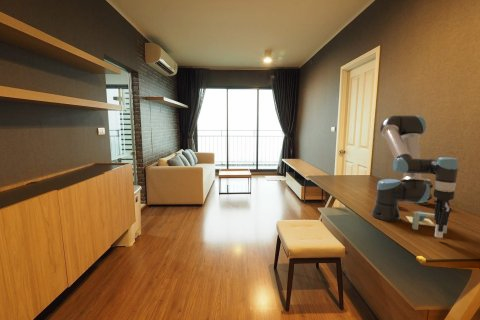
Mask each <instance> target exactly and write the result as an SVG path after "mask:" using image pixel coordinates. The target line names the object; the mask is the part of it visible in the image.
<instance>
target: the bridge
mask: <svg viewBox="0 0 480 320" xmlns="http://www.w3.org/2000/svg"><path fill="white" fill-rule="evenodd" d="M419 216H425V217H427V218H434V216H435V212H434V213H433V212H423V211H422V212H416V211H414V210H413V213H412V217H413V222H412V223H411V228H412V230H416V231H417V230H419V225H420V224H419ZM448 223H449V221H448V222H447V225H445V226H444V230H443V234H446V235H447V232H448V225H449V224H448Z"/></svg>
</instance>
